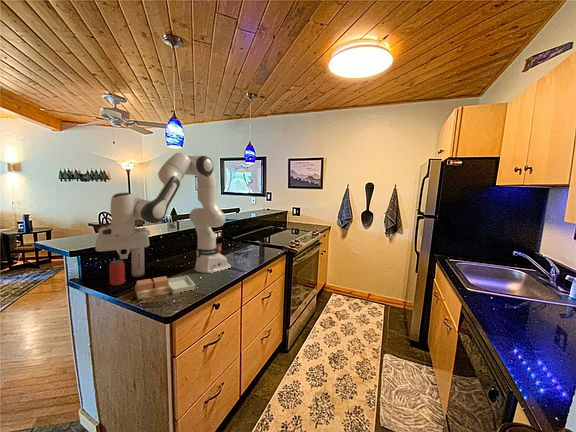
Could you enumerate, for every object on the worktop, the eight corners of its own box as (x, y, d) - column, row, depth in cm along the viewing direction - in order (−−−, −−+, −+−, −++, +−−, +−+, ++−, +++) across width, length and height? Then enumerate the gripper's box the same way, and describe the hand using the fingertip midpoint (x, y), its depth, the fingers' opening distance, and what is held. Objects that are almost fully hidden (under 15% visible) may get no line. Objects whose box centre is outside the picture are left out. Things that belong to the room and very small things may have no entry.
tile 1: (150, 284, 122) (150, 278, 121) (152, 288, 117) (152, 282, 117) (136, 286, 118) (136, 280, 118) (138, 291, 113) (138, 285, 113)
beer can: (117, 286, 124) (116, 264, 122) (106, 284, 125) (105, 262, 123) (128, 281, 130) (127, 260, 129) (117, 280, 131) (117, 258, 130)
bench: (166, 285, 129) (166, 279, 128) (170, 293, 120) (170, 287, 120) (135, 290, 120) (134, 285, 120) (137, 299, 111) (137, 293, 111)
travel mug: (134, 272, 143) (134, 239, 140) (146, 273, 143) (146, 240, 141) (128, 276, 136) (128, 242, 134) (141, 277, 137) (140, 242, 135)
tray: (187, 279, 137) (187, 275, 137) (195, 289, 125) (195, 285, 125) (165, 283, 130) (165, 279, 130) (172, 294, 118) (172, 289, 118)
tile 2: (166, 281, 126) (166, 276, 126) (168, 285, 121) (168, 279, 121) (152, 283, 122) (152, 278, 122) (155, 288, 118) (154, 282, 117)
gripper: (148, 226, 118) (148, 253, 119) (94, 228, 105) (96, 259, 107) (150, 228, 113) (150, 257, 114) (94, 231, 100) (95, 263, 102)
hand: (123, 258), depth 111 cm, fingers closed
